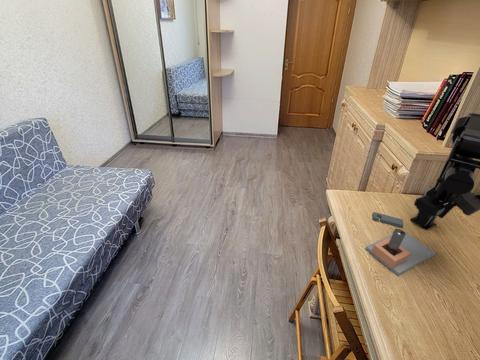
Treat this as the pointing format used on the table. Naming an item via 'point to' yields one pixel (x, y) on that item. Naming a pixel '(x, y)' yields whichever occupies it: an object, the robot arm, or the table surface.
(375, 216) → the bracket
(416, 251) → the socket base
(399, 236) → the peg
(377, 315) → the table surface
